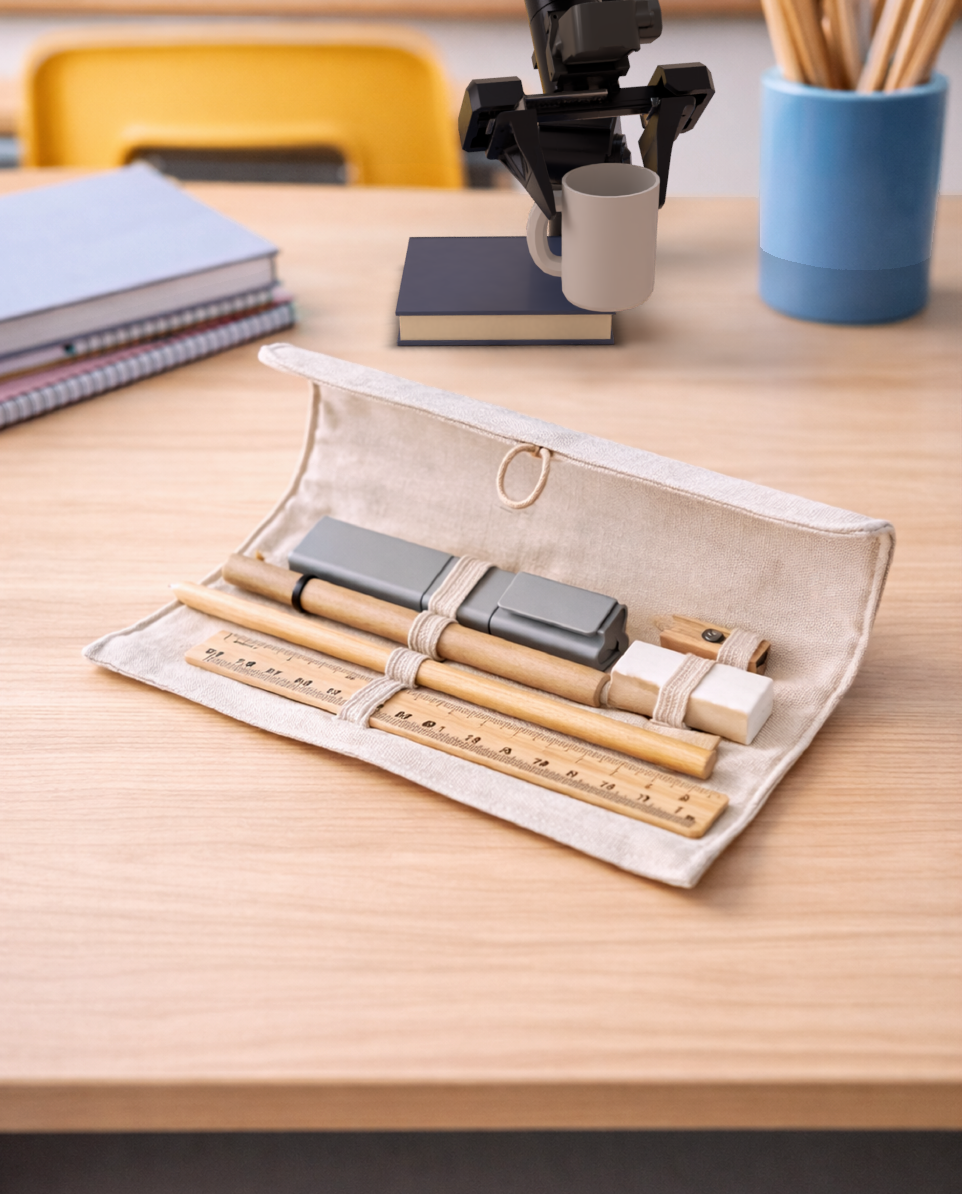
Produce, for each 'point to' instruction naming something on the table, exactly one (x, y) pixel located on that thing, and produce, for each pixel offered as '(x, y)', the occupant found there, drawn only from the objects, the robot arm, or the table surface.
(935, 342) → the table surface
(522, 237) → the book
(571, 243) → the cup
